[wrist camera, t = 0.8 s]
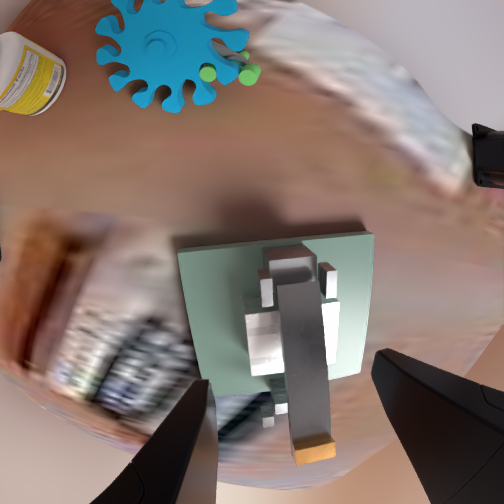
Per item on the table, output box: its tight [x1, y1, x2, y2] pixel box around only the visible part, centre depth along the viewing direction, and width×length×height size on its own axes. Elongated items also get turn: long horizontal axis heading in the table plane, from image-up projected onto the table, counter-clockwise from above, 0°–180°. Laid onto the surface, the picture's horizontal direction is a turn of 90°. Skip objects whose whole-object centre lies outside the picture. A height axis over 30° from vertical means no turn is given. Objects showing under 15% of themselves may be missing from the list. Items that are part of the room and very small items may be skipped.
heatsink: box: [242, 291, 339, 376], centre depth 19 cm, size 6×5×3 cm
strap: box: [275, 281, 335, 465], centre depth 14 cm, size 11×2×2 cm, turn 4°
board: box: [177, 231, 374, 397], centre depth 21 cm, size 14×13×1 cm
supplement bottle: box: [0, 32, 66, 116], centre depth 9 cm, size 5×5×10 cm
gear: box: [95, 0, 261, 113], centre depth 13 cm, size 11×6×10 cm
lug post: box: [261, 377, 288, 427], centre depth 20 cm, size 4×1×6 cm, turn 94°
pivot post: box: [257, 244, 337, 307], centre depth 17 cm, size 4×2×6 cm, turn 94°
